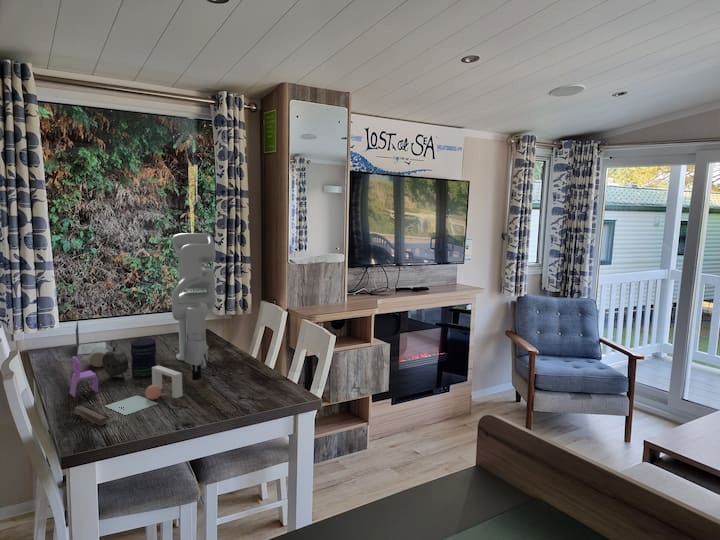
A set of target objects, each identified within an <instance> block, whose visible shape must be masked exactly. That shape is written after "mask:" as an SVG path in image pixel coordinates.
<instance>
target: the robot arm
mask: <svg viewBox="0 0 720 540" xmlns="http://www.w3.org/2000/svg"><path fill="white" fill-rule="evenodd" d="M172 247H173V250H174V252H175V253H176V256H177V259H178V281H179V282H178V283H177V285H175V287H174V289H173V291H172V294H171V313H172V314H171V315H172V318H173V319H174V320H175V321H178V343H179V352H178V353H177V354H176V355H175V358H176V359H177V360H178V361H182V362H184V363H186V364H188V365H189V367H190V369H191V375H192V376H191V377H192V381H199V380H201V379H202V370H203V369H206V368H207V364H208V361H209V360H208V359H209V355H208V353H209V352H208V351H209V350H208V349H209V345H208V344H207V340H206V339H207V338H206V336H207V335H206V318H207V316H208V314H209V312H210V311H213V310H214V309H215V306H216V278H215V272H214V271H213V270H212V269H211V268H206V267H205V268H203V263H204V264H205V263H206V264H207V263H210V264H211V263H214V262H215V260H216V256H217V255H216V254H217V253H216V247H215V242H214V238H213V236H212V234H210V233H206V232H205V233H203V232H200V233H199V232H198V233H195V232H186V233H185V232H184V233H181V232H180V233H177V234H174V235H173V236H172ZM198 289H199V290H200V291H199V290H198ZM202 289H203V290H202ZM184 290H193V291H184ZM194 290H198V291H194ZM182 291H184V292H182Z"/></svg>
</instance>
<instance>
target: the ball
mask: <svg viewBox="0 0 720 540" xmlns="http://www.w3.org/2000/svg"><path fill="white" fill-rule="evenodd" d="M161 394H162V389H160V387H159V386H158V385H152V384H151V385H148V387H146V389H145V398H146V399H148V400H151V401H154V400H157V399H159V397H160V396H161Z"/></svg>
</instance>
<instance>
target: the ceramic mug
mask: <svg viewBox="0 0 720 540" xmlns="http://www.w3.org/2000/svg"><path fill="white" fill-rule="evenodd" d="M108 351H109V349H107V347H106V348H105V347H96V348H94V349H93V350H92V352H91V354H89V355H90V356H89V363H90V364H91V366H93V367H95V368H103V365H102V358H103V355H104V354H105V353H106V352H108Z"/></svg>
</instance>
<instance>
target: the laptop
mask: <svg viewBox="0 0 720 540" xmlns="http://www.w3.org/2000/svg"><path fill="white" fill-rule="evenodd" d="M75 343H76V355H77V356H84V355H85V354H86V355H91V352H92V350H93V349H94V348H96V347H105V348H106V349H107V342H106V341H103V342H93V343H92V342H91V343H81V344H80V336H79V321H77V320H76V325H75Z"/></svg>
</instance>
